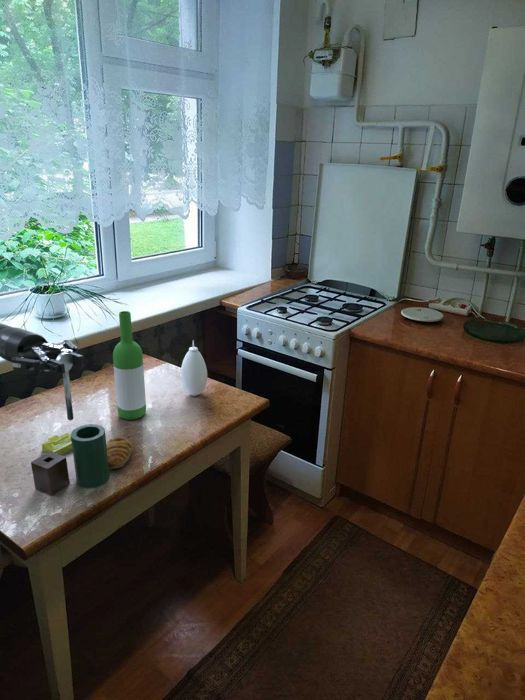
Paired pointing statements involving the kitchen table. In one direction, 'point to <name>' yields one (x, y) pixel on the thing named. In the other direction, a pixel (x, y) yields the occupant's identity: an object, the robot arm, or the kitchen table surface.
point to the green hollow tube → (90, 455)
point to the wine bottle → (129, 372)
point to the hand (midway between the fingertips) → (72, 365)
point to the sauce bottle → (193, 372)
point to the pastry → (118, 452)
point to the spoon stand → (50, 473)
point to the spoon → (67, 381)
